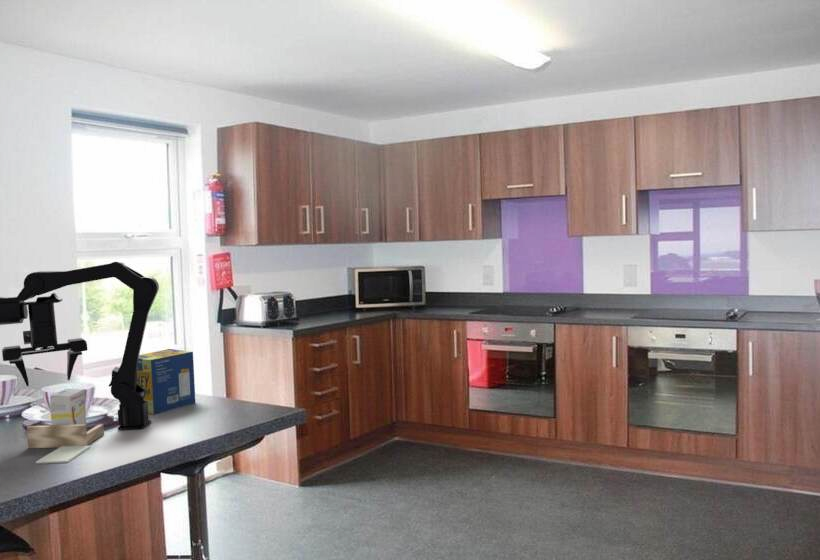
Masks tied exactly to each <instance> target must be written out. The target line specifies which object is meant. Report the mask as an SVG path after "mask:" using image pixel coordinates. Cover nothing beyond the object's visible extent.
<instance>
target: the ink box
mask: <svg viewBox="0 0 820 560" xmlns="http://www.w3.org/2000/svg"><path fill="white" fill-rule="evenodd" d="M85 397H86V395H85V389H84V388H65V389H62V390H59V391H58V392H56V393H53V394H50V396H49V404H50V420H51V423H50V424H51V425H82V424H86V425H87V415H86V398H85ZM87 429H88V428H87V427H86V431H88V430H87Z"/></svg>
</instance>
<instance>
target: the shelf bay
mask: <svg viewBox="0 0 820 560" xmlns="http://www.w3.org/2000/svg"><path fill="white" fill-rule="evenodd" d="M86 428H87V423H86V424H82V425H52V424H51V425H50V424H49V425H29V426H27V427H26V438H27V448H28V449H41V448H43V449H44V448H45V449H46V448H59V447H61V446H89V445H90V444H92V442H94V441H95V440H97V439H99V438H101V437H102V436H104V435H105V429H104V424H101V423H99V424H97V425H96V426H94V427H92V428H91V429H89V430H87V431H86Z"/></svg>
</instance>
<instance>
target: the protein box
mask: <svg viewBox="0 0 820 560" xmlns="http://www.w3.org/2000/svg"><path fill="white" fill-rule="evenodd" d="M194 367H195V366H194V351H190V350H189V351H188V350H183V349H182V350H181V349H172V348H168V349H162V350H158V351H154V352H153V351H152V352H148V353H142V354H139V358H138V362H137V371H138V376H137V384H138V385H139V386H140V387H142V388H143V389H144V390H146V394H145V398H144V399H143V401H148V415H156V414H160V413H163V412H167V411H170V410H174V409H178V408H182V407H184V406H188V405H191V404H195V403H196V392H195V391H196V388H195V387H196V386H195V371H194V370H195V368H194Z"/></svg>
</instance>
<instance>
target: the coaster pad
mask: <svg viewBox="0 0 820 560" xmlns="http://www.w3.org/2000/svg"><path fill="white" fill-rule="evenodd" d="M89 449H91V445H87V446H61V447H57V448H56V449H55V450H53V451H52V452H49V453H48V454H46V455H44V456H43V457H41V458H39V460H37V461H35V464H58V463H59V464H60V463H61V464H62V463H63V464H65V463H69V462H71V461H72V460H74V459H76V458H77V457H78V456H80V455H81V454H83V453H85V452H86V451H87V450H89Z"/></svg>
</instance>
